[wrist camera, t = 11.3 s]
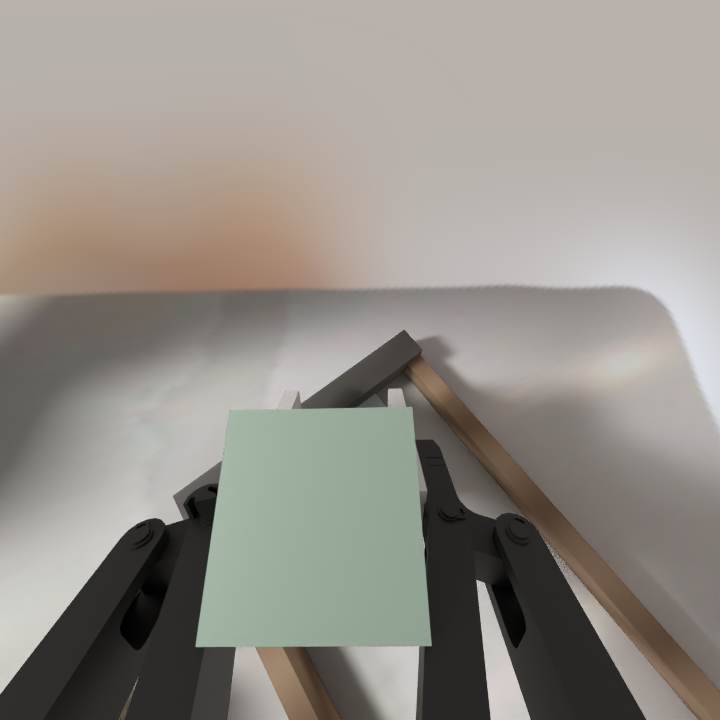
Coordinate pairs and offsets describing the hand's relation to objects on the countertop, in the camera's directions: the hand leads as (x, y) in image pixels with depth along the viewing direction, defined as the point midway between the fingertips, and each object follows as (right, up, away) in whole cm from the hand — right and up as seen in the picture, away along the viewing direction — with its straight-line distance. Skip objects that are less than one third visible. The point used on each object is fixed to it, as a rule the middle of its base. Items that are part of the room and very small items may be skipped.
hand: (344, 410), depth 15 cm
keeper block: (0, -5, +2) cm, 5 cm away
